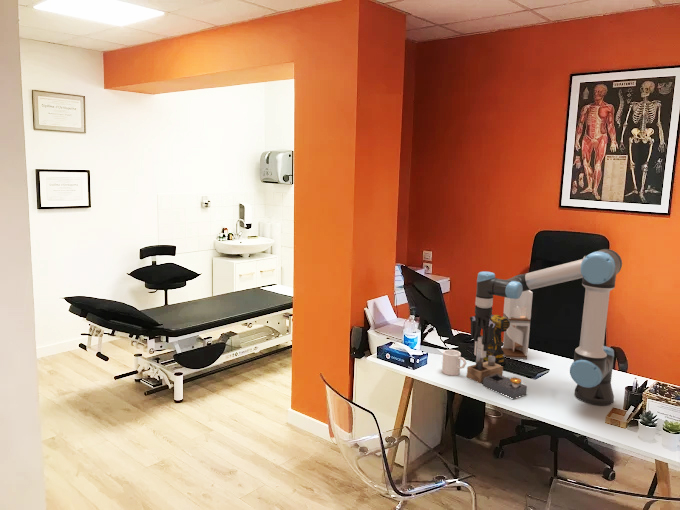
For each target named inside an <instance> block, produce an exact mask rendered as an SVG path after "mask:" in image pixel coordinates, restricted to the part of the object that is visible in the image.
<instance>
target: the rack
mask: <svg viewBox="0 0 680 510" xmlns="http://www.w3.org/2000/svg"><path fill="white" fill-rule="evenodd" d="M503 372H504V366H501V365H499V364H496V363H495V356H491V355H490V356H488V361H487V362H483V369H482V370H478V369H476V364H473V365H470V366H467V370H466V378H469V379H470V380H473V381H475V382H477V383H479V384H481V383H483V380H484V377H487V376H491V375H494V374H500V375H502V376H504V375H503V374H504V373H503Z"/></svg>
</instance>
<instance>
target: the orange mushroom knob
mask: <svg viewBox="0 0 680 510" xmlns="http://www.w3.org/2000/svg"><path fill="white" fill-rule="evenodd" d="M509 379H510V381H511V382H512V387H514V388H519V384H520V383H521V384H522V379H521V378H519V377H511V378H509Z"/></svg>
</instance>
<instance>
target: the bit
mask: <svg viewBox="0 0 680 510" xmlns="http://www.w3.org/2000/svg"><path fill="white" fill-rule="evenodd" d="M482 343H483V335H480V336H478V341H477V355H475V356H476V357H475V365H476V369H478V370H482V369H483V359H484V358H481V346H482Z"/></svg>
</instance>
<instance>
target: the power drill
mask: <svg viewBox="0 0 680 510" xmlns="http://www.w3.org/2000/svg"><path fill="white" fill-rule="evenodd" d="M491 321H492V322H493V323H496V326H495V328H494V334H493V341H492V344H493V345H492V344H488V350H487V351H486V357H484V359H483V362H487V361H488V356H490V355H491V356H495V363H496V364H499V365H502V364H505V365H506V362H507V359H506V358H505V357H504V356H503V355H504V351H503V350H502V349H501V348H502V345H503V343H502V333H504V331H507V329H508V328H509V326H510V322H509V321H508V319H507V318H505V317H503V316H501V315H499V314H492V315H491Z"/></svg>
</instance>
